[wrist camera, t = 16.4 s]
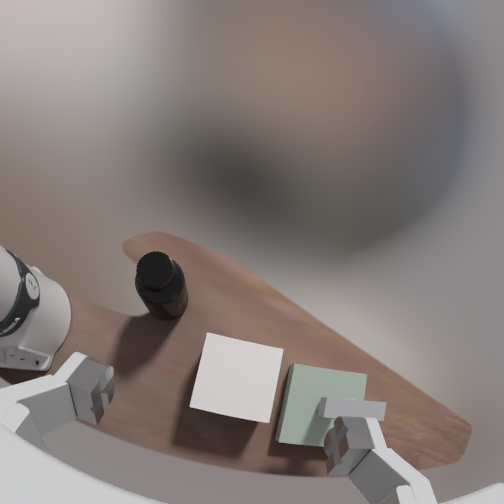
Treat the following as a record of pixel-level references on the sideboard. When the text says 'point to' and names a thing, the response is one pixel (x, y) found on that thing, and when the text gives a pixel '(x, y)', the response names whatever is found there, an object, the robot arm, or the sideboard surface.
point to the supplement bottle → (161, 285)
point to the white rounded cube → (237, 378)
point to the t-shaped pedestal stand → (321, 403)
